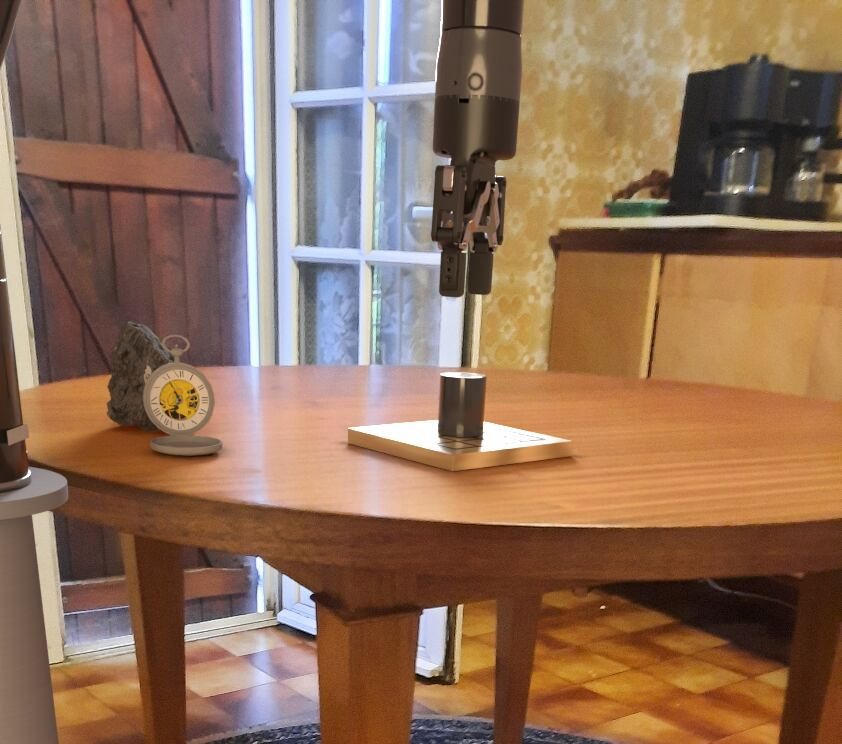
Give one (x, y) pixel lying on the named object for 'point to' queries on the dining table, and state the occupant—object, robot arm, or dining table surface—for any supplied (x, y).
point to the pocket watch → (180, 406)
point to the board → (459, 445)
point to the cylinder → (461, 404)
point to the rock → (136, 375)
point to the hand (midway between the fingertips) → (465, 295)
